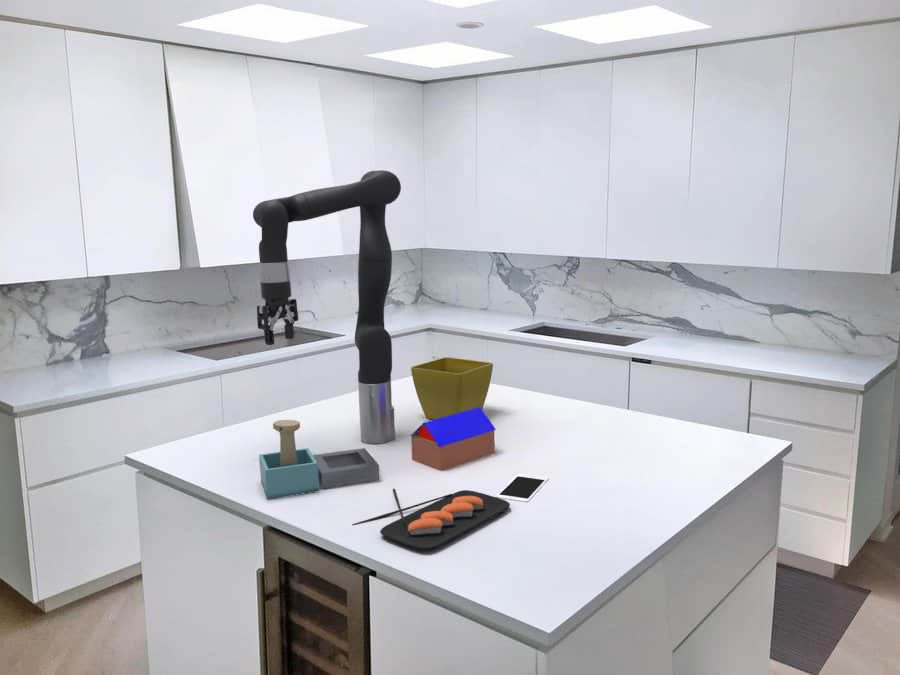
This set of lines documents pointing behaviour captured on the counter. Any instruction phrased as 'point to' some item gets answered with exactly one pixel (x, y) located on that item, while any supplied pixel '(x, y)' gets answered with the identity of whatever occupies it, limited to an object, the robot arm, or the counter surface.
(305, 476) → the bin
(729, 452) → the counter surface
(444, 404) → the flower pot
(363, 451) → the socket block
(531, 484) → the cell phone
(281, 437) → the handle
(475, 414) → the house
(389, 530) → the sushi plate
